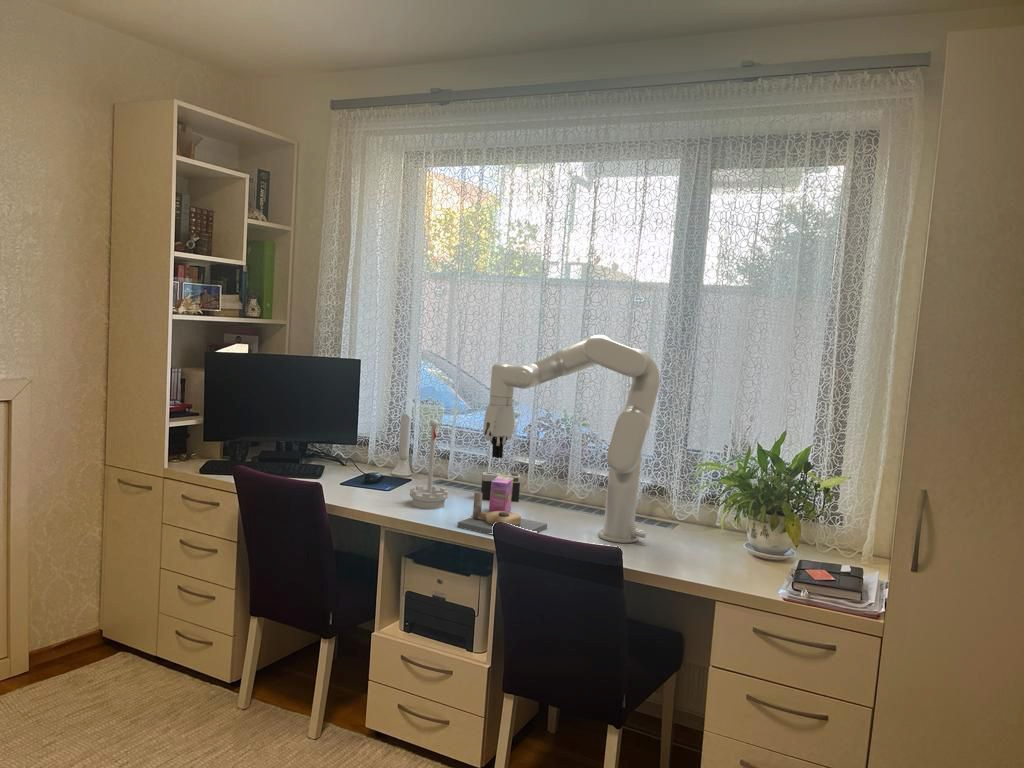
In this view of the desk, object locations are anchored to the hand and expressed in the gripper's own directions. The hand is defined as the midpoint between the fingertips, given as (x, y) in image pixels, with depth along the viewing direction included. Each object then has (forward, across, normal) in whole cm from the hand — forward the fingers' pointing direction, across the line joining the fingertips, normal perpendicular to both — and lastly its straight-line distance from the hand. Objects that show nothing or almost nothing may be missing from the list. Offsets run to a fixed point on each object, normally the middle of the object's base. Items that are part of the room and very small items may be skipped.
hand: (497, 457), depth 263 cm
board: (+21, +3, +8) cm, 23 cm away
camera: (+21, -22, -19) cm, 36 cm away
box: (+21, -9, -6) cm, 24 cm away
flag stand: (+21, +6, -26) cm, 34 cm away
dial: (+19, +5, +6) cm, 21 cm away
